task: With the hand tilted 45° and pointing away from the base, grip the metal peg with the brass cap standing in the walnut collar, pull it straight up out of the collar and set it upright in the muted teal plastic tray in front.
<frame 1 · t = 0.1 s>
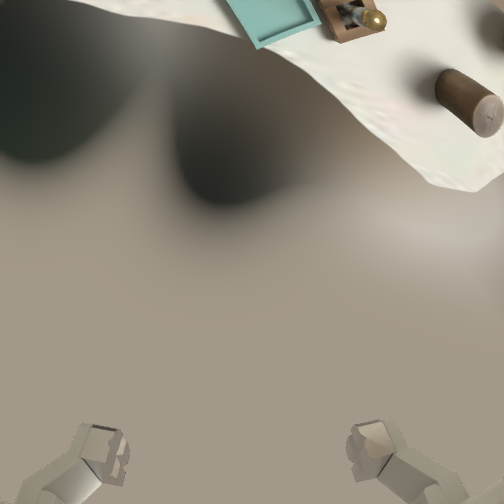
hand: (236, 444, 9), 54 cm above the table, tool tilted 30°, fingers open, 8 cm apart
walnut collar: (348, 12, 38), on the table
pillar candle: (451, 88, 47), on the table
teal tray: (271, 6, 38), on the table
metal peg: (360, 16, 34), in the walnut collar
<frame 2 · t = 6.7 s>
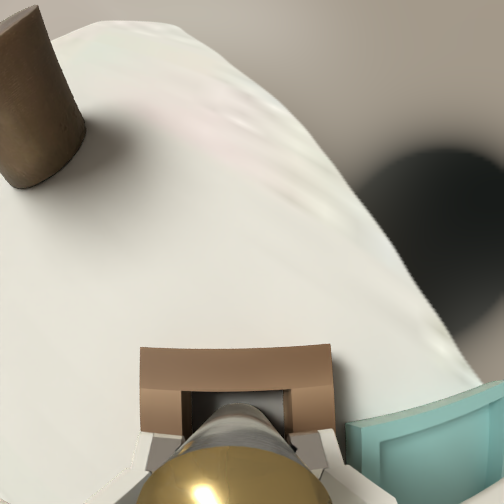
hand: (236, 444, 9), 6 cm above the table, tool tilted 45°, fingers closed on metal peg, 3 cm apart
walnut collar: (238, 432, 14), on the table
pillar candle: (43, 150, 23), on the table
teal tray: (429, 483, 12), on the table
metal peg: (237, 457, 9), in the walnut collar, touching gripper
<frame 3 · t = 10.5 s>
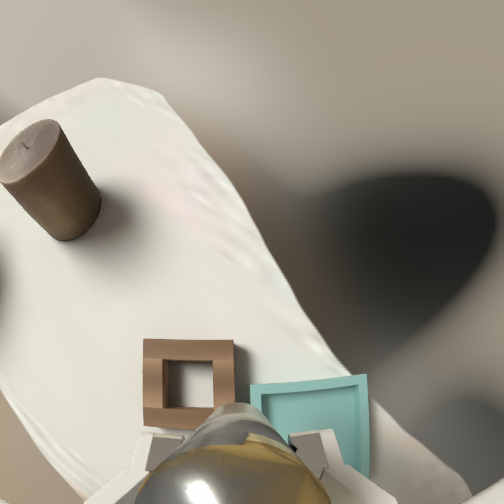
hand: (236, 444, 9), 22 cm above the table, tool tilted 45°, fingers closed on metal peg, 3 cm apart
walnut collar: (192, 384, 29), on the table
pillar candle: (72, 211, 38), on the table
teal tray: (308, 433, 28), on the table
metal peg: (236, 456, 9), point 22 cm above the table, touching gripper
when the fingers open (8 cm above the table, at t = 14.3 s): metal peg stays where it is, resting on teal tray.
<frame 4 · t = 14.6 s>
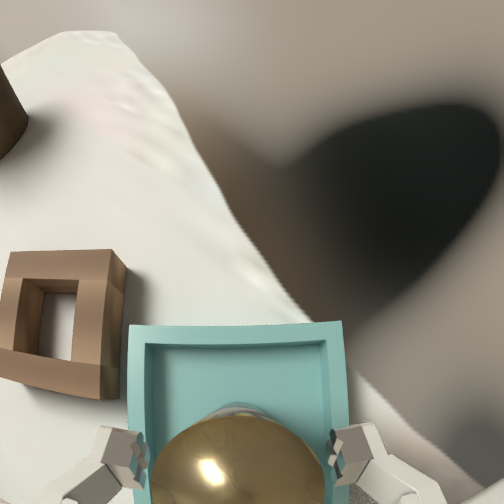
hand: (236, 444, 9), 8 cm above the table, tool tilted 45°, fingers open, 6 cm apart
walnut collar: (65, 327, 18), on the table
pillar candle: (0, 140, 26), on the table
teal tray: (238, 427, 16), on the table
metal peg: (237, 447, 10), in the teal tray, point 7 cm above the table
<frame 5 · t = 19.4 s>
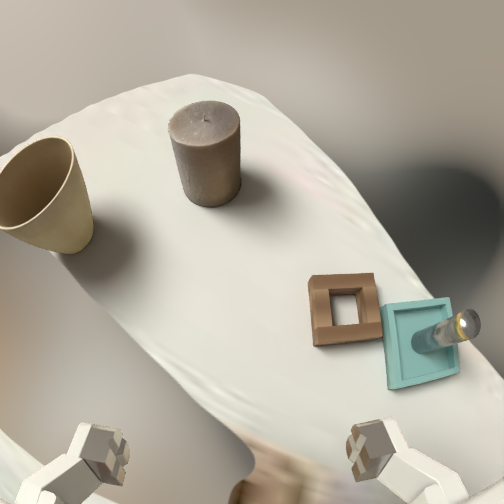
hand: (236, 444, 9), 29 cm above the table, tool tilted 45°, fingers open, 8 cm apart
walnut collar: (341, 311, 41), on the table
pillar candle: (211, 183, 49), on the table
teal tray: (417, 343, 39), on the table
metal peg: (443, 334, 33), in the teal tray, point 7 cm above the table
plant pot: (75, 235, 45), on the table
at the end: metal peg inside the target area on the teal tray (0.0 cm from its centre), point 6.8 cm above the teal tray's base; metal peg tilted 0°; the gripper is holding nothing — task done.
